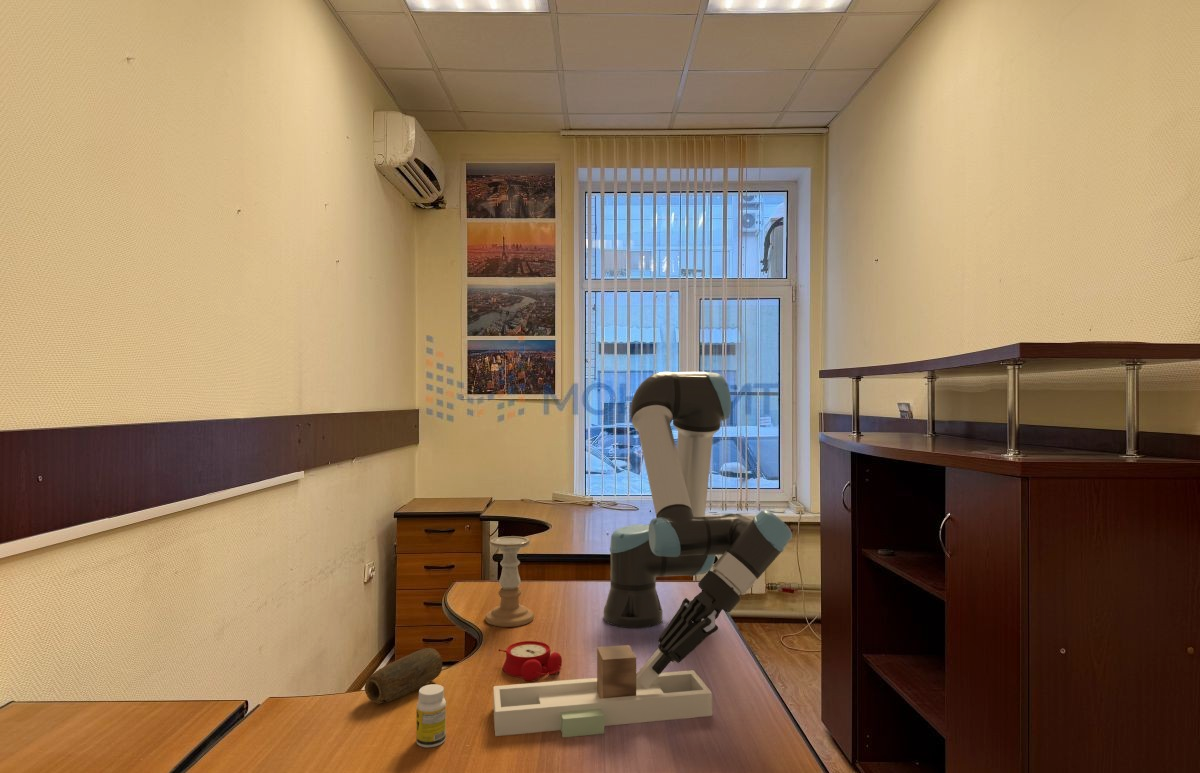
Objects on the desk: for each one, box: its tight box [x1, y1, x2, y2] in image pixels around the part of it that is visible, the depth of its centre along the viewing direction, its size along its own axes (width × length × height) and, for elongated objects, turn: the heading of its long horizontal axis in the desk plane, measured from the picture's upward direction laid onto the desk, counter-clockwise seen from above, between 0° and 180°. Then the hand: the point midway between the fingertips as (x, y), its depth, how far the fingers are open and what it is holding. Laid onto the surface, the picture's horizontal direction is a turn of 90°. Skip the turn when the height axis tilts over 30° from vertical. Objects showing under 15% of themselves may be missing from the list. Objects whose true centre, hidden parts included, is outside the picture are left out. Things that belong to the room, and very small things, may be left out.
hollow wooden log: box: [364, 647, 443, 705], centre depth 125 cm, size 15×7×7 cm, turn 151°
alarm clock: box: [498, 640, 563, 682], centre depth 135 cm, size 10×6×15 cm
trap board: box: [492, 669, 713, 737], centre depth 117 cm, size 38×10×4 cm, turn 101°
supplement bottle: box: [415, 683, 447, 748], centre depth 107 cm, size 5×5×8 cm
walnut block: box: [596, 644, 637, 699], centre depth 117 cm, size 6×6×8 cm
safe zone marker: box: [551, 677, 605, 738], centre depth 116 cm, size 7×15×3 cm, turn 11°
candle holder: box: [484, 535, 535, 628], centre depth 167 cm, size 12×12×20 cm
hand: (640, 682), depth 117 cm, fingers closed
